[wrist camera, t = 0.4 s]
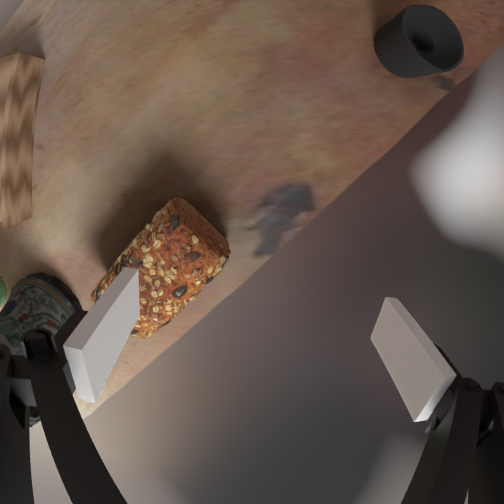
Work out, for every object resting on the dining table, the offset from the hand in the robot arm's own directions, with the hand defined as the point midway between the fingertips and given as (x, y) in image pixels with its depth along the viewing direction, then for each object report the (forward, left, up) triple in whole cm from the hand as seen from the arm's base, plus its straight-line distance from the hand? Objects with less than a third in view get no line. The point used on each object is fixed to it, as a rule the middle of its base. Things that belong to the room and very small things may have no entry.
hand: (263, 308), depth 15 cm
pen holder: (-27, +17, -28) cm, 42 cm away
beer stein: (+25, -33, -28) cm, 50 cm away
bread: (+11, -11, -28) cm, 32 cm away
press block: (-7, -43, -27) cm, 51 cm away
